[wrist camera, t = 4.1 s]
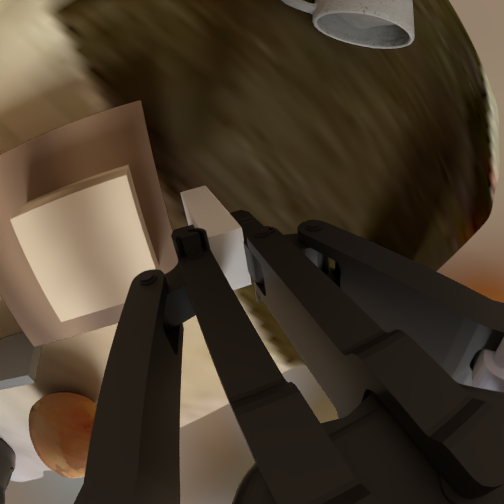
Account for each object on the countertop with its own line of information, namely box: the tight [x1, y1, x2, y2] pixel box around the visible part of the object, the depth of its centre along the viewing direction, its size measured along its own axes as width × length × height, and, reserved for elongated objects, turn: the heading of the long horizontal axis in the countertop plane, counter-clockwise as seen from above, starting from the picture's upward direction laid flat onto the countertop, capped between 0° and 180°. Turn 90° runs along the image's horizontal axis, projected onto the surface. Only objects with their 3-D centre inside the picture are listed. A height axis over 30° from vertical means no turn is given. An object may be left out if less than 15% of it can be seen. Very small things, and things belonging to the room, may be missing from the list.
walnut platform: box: [0, 100, 178, 347], centre depth 18 cm, size 14×14×4 cm
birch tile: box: [10, 164, 160, 322], centre depth 16 cm, size 7×7×3 cm
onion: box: [29, 392, 97, 478], centre depth 23 cm, size 10×10×10 cm
